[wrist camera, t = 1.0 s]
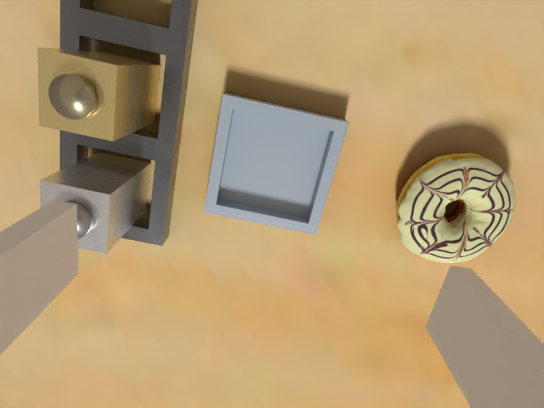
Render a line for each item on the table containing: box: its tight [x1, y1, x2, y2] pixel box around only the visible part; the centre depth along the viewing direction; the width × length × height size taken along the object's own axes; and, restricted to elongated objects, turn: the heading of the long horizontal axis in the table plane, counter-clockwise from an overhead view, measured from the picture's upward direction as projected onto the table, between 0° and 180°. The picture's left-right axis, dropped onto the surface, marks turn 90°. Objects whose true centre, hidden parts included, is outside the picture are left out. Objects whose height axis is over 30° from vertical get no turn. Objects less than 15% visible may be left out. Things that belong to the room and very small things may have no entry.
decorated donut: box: [396, 153, 515, 263], centre depth 34 cm, size 10×11×4 cm
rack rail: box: [60, 0, 198, 246], centre depth 31 cm, size 28×10×2 cm, turn 168°
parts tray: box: [204, 93, 349, 235], centre depth 33 cm, size 11×11×2 cm
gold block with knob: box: [38, 47, 161, 141], centre depth 27 cm, size 5×5×10 cm
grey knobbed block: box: [40, 152, 151, 254], centre depth 31 cm, size 5×5×10 cm
